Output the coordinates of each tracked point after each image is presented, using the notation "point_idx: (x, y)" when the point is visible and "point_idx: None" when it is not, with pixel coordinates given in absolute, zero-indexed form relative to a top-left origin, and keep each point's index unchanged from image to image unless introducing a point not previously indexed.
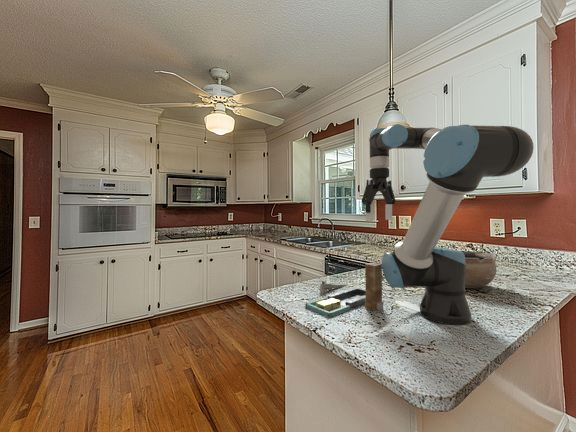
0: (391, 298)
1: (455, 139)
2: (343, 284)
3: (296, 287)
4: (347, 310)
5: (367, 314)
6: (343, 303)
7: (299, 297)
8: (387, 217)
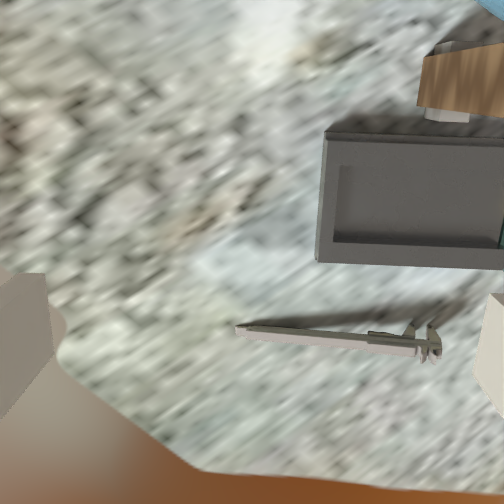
0: (246, 117)
1: None
2: (280, 339)
3: (409, 453)
4: None
5: None
6: (481, 199)
7: None
8: (36, 342)
